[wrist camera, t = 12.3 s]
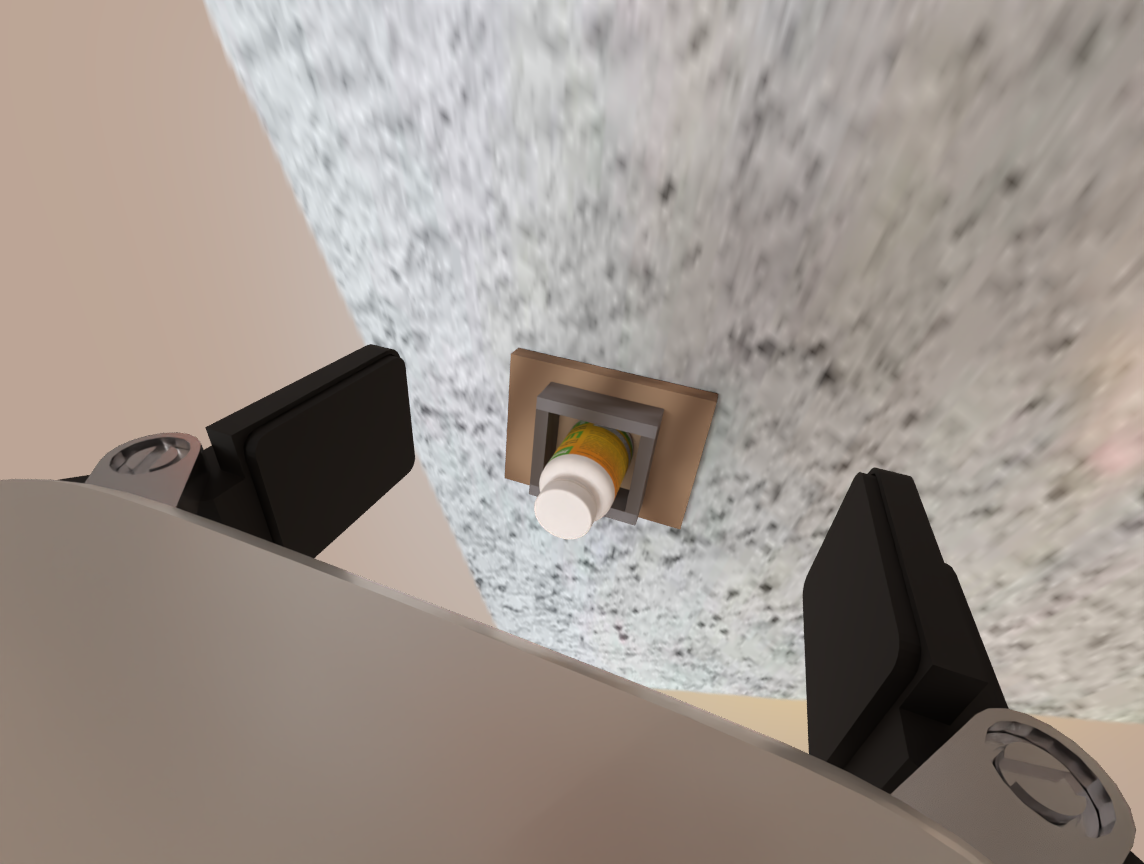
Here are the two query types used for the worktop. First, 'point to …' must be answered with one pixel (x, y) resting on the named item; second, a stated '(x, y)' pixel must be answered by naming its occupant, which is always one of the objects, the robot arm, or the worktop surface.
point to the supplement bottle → (582, 479)
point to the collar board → (616, 400)
